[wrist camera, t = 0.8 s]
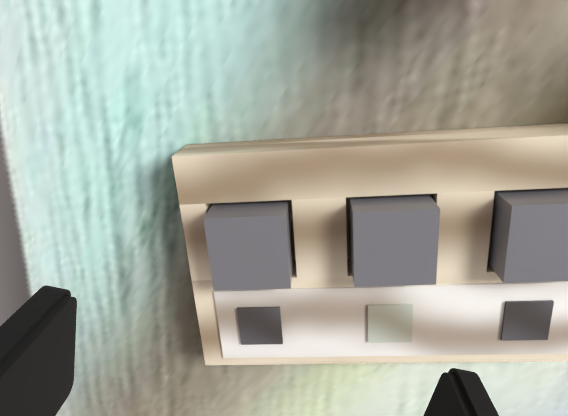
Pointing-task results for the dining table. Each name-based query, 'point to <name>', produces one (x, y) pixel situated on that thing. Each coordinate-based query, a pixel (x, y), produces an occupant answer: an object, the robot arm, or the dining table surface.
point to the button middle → (394, 240)
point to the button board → (337, 248)
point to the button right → (530, 236)
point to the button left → (249, 245)
